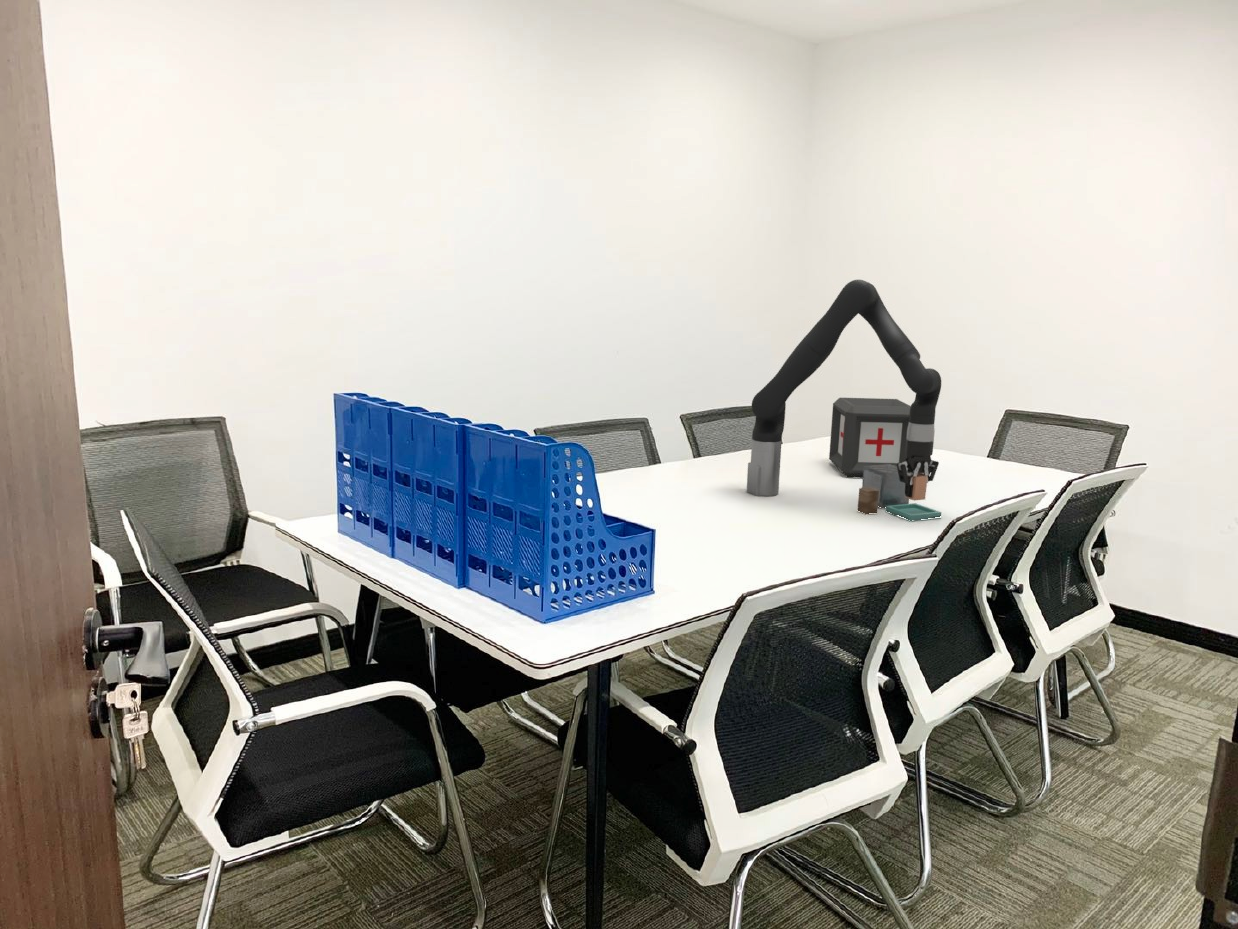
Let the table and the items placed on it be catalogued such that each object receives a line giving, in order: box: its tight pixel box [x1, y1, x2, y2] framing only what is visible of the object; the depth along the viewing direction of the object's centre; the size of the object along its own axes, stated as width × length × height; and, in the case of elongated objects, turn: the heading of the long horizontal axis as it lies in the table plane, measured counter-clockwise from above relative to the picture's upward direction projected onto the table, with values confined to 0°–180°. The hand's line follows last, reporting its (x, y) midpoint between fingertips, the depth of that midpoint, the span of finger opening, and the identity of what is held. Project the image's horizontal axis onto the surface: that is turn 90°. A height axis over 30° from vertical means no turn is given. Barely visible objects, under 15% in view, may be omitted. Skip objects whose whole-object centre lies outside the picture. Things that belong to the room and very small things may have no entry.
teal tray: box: [885, 502, 942, 522], centre depth 265 cm, size 11×11×2 cm
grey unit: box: [861, 464, 912, 509], centre depth 277 cm, size 11×10×11 cm
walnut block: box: [857, 487, 879, 515], centre depth 267 cm, size 4×4×7 cm
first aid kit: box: [828, 397, 913, 478], centre depth 321 cm, size 25×25×25 cm
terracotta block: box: [905, 474, 928, 502], centre depth 264 cm, size 4×4×7 cm
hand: (915, 495), depth 264 cm, fingers closed on terracotta block, 4 cm apart
